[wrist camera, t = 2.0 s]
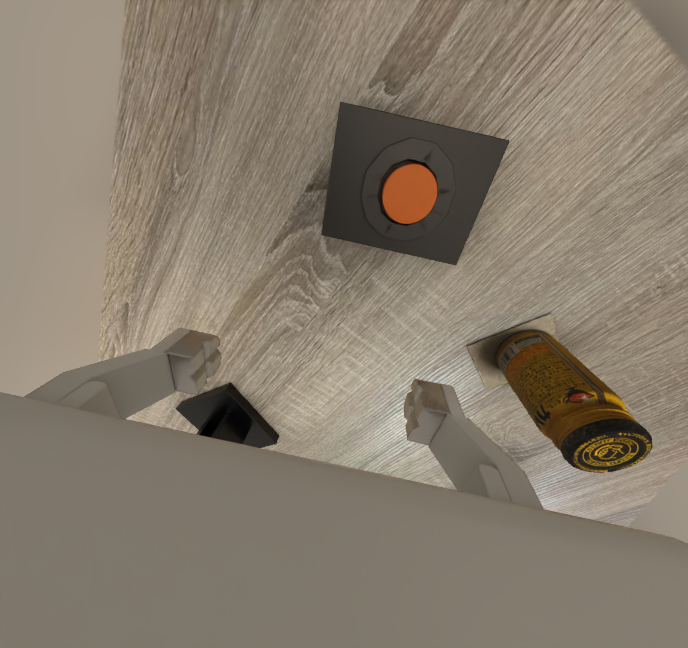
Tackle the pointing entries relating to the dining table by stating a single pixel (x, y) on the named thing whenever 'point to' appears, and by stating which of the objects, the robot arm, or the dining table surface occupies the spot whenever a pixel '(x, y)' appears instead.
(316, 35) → the dining table surface
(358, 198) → the dark grey button base
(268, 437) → the ball handle lever stand
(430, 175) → the power button
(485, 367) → the condiment
